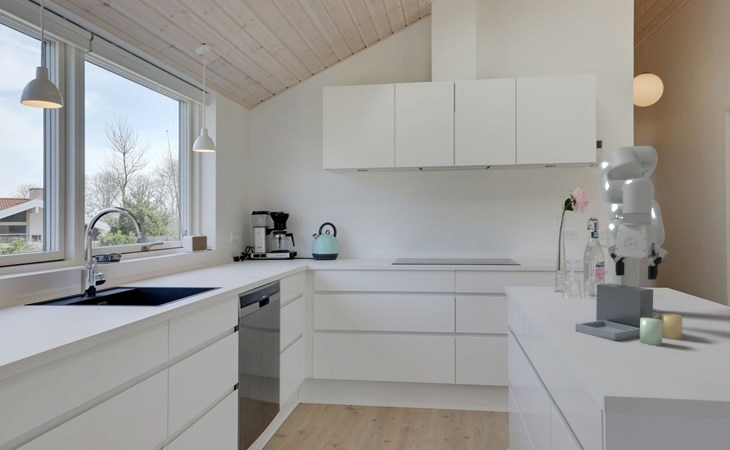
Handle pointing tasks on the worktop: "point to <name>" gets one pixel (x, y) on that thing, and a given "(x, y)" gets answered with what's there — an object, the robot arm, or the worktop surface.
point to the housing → (623, 304)
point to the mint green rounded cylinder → (651, 331)
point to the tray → (608, 330)
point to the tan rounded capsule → (671, 326)
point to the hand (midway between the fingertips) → (635, 277)
